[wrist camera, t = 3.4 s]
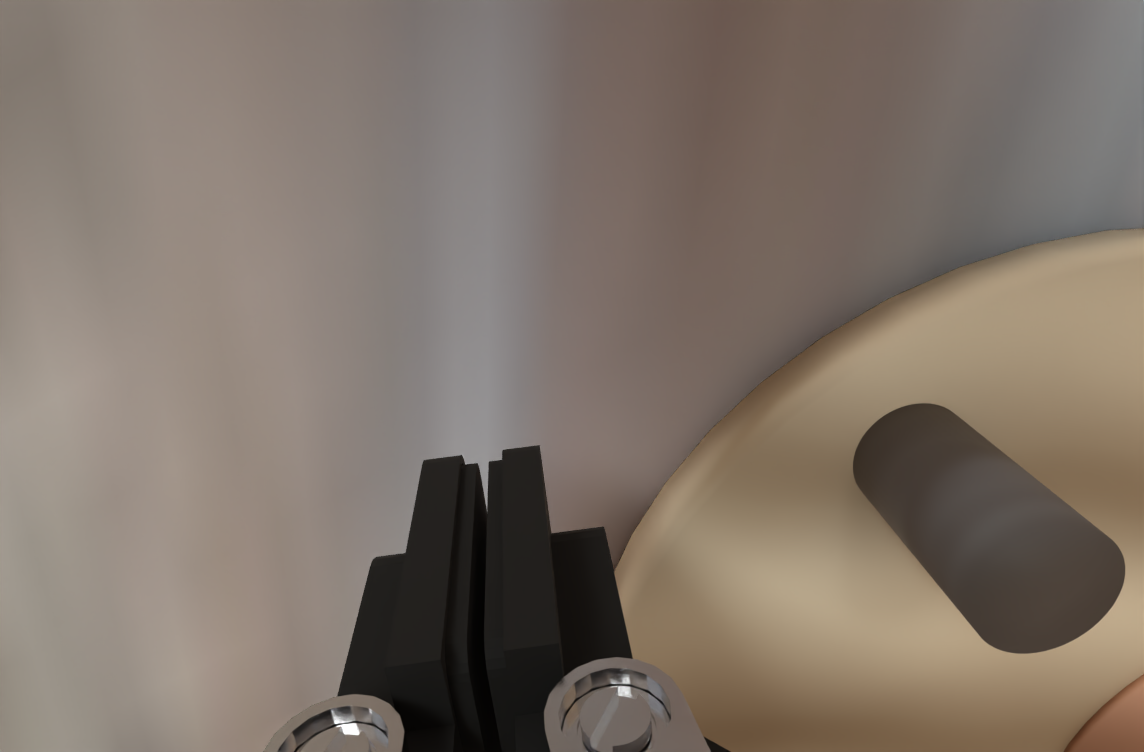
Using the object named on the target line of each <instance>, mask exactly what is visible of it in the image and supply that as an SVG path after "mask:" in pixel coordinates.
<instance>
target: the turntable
mask: <svg viewBox="0 0 1144 752" xmlns="http://www.w3.org/2000/svg"><path fill="white" fill-rule="evenodd" d="M614 574H615V579H616V583H617V588H618V593H619V597H620V602H621V606H622V611H623V615H624V620H625V625H626V629H627V634H628V638H629V643H630V647H631V652H632V656H633V659H637V660H640V661H643V662H645V663H648V664H651V665H654V666H656V667H657V668H659V669H660V670H661V671H663V672H664V673H666V674H667V675H668V676H670V677H671V678H672V679H673V681H674V682H675V684H676V685H677V686H678V688H679V689H680V690H681V692H682V694H683V696H684V698H685V700H686V702H687V704H688V706H689V708H690V710H691V712H692V714H693V716H694V718H695V720H696V722H697V724H698V726H699V728H700V731H701V733H702V735H703V736H704V737H706V738H707V739H709V740H711V741H713V742H715V743H716V744H718V745H720V746H722V747H723V748H725V749H727V750H729V751H731V752H1144V228H1140V229H1122V230H1106V231H1100V232H1095V233H1090V234H1084V235H1079V236H1074V237H1068V238H1063V239H1058V240H1052V241H1047V242H1041V243H1036V244H1032V245H1029V246H1025V247H1022V248H1019V249H1016V250H1013V251H1009V252H1006V253H1003V254H1000V255H997V256H994V257H990V258H987V259H984V260H981V261H978V262H974V263H971V264H968V265H965V266H962V267H959V268H957V269H954V270H952V271H950V272H948V273H945V274H943V275H941V276H939V277H936V278H934V279H932V280H930V281H927V282H925V283H923V284H921V285H918V286H916V287H914V288H912V289H909V290H907V291H905V292H903V293H900V294H898V295H896V296H894V297H891V298H889V299H887V300H885V301H884V302H882V303H880V304H879V305H877V306H875V307H874V308H872V309H870V310H868V311H867V312H865V313H863V314H862V315H860V316H858V317H856V318H855V319H853V320H851V321H850V322H848V323H846V324H844V325H843V326H841V327H839V328H838V329H836V330H834V331H832V332H831V333H829V334H827V335H826V336H824V337H822V338H821V339H819V340H818V341H817V342H815V343H814V344H813V345H811V346H810V347H809V348H807V349H806V350H805V351H803V352H802V353H801V354H799V355H798V356H796V357H795V358H794V359H792V360H791V361H790V362H788V363H787V364H786V365H784V366H783V367H782V368H780V369H779V370H778V371H776V372H775V373H774V374H772V375H771V376H770V377H768V378H767V379H765V380H764V381H763V382H761V383H760V384H759V385H758V386H757V387H756V388H755V389H754V390H753V391H752V392H751V393H750V394H749V395H748V396H746V397H745V398H744V399H743V400H742V401H741V402H740V403H739V404H738V405H737V406H736V407H735V408H734V409H733V410H731V411H730V412H729V413H728V414H727V415H726V416H725V417H724V418H723V419H722V420H721V421H720V422H719V423H718V424H716V425H715V426H714V427H713V428H712V429H711V430H710V431H709V432H708V433H707V435H706V436H705V437H704V438H703V439H702V440H701V442H700V443H699V444H698V445H697V446H696V448H695V449H694V450H693V451H692V452H691V453H690V455H689V456H688V457H687V458H686V459H685V461H684V462H683V463H682V464H681V465H680V466H679V468H678V469H677V470H676V471H675V472H674V474H673V475H672V476H671V477H670V478H669V479H668V481H667V482H666V483H665V485H664V486H663V488H662V489H661V491H660V492H659V494H658V495H657V497H656V499H655V500H654V502H653V503H652V505H651V506H650V508H649V509H648V511H647V512H646V514H645V515H644V517H643V518H642V520H641V522H640V523H639V525H638V526H637V528H636V529H635V531H634V532H633V534H632V536H631V538H630V540H629V542H628V544H627V546H626V548H625V550H624V553H623V555H622V557H621V559H620V561H619V563H618V565H617V567H616V569H615V571H614Z"/></svg>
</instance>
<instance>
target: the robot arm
mask: <svg viewBox="0 0 1144 752" xmlns="http://www.w3.org/2000/svg"><path fill="white" fill-rule="evenodd" d="M263 752H731V751H729V750H727V749H725V748H723V747H722V746H720V745H718V744H716V743H715V742H713V741H711V740H709V739H707V738H706V737H704V736H703V735H702V733H701V731H700V728H699V726H698V724H697V722H696V720H695V718H694V716H693V714H692V712H691V710H690V708H689V706H688V704H687V702H686V700H685V698H684V696H683V694H682V692H681V690H680V689H679V688H678V686H677V685H676V684H675V682H674V681H673V679H672V678H671V677H670V676H668V675H667V674H666V673H664V672H663V671H661V670H660V669H659V668H657V667H656V666H654V665H651V664H648V663H645V662H643V661H640V660H637V659H633V656H632V652H631V647H630V643H629V638H628V634H627V629H626V625H625V620H624V615H623V611H622V606H621V602H620V597H619V593H618V588H617V583H616V579H615V574H614V570H613V565H612V561H611V556H610V551H609V547H608V542H607V538H606V533H605V529H604V527H597V528H589V529H582V530H574V531H567V532H559V533H552V534H551V528H550V520H549V512H548V505H547V497H546V490H545V482H544V474H543V467H542V459H541V452H540V445H537V446H530V447H522V448H514V449H507V450H503V451H502V460H498V461H490V462H489V472H488V508H487V510H486V504H485V498H484V492H483V487H482V481H481V475H480V470H479V466H478V463H475V464H467V465H465V462H464V459H463V456H462V455H460V456H452V457H445V458H437V459H429V460H424V461H423V464H422V469H421V475H420V480H419V485H418V490H417V496H416V501H415V506H414V512H413V517H412V522H411V528H410V533H409V538H408V543H407V549H406V553H403V554H396V555H388V556H381V557H376V558H374V559H373V561H372V563H371V566H370V569H369V573H368V577H367V581H366V585H365V589H364V593H363V597H362V601H361V605H360V609H359V613H358V617H357V621H356V625H355V629H354V633H353V637H352V641H351V644H350V648H349V652H348V656H347V660H346V664H345V668H344V672H343V676H342V680H341V684H340V688H339V692H338V696H337V697H333V698H330V699H328V700H325V701H322V702H320V703H317V704H314V705H312V706H310V707H309V708H307V709H305V710H304V711H302V712H301V713H299V714H297V715H296V716H294V717H293V718H291V719H290V720H289V721H288V722H287V723H286V724H285V725H284V726H283V727H282V728H281V729H280V730H279V731H277V732H276V733H275V734H274V736H273V737H272V739H271V740H270V742H269V743H268V745H267V746H266V748H265V749H264V751H263Z"/></svg>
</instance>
